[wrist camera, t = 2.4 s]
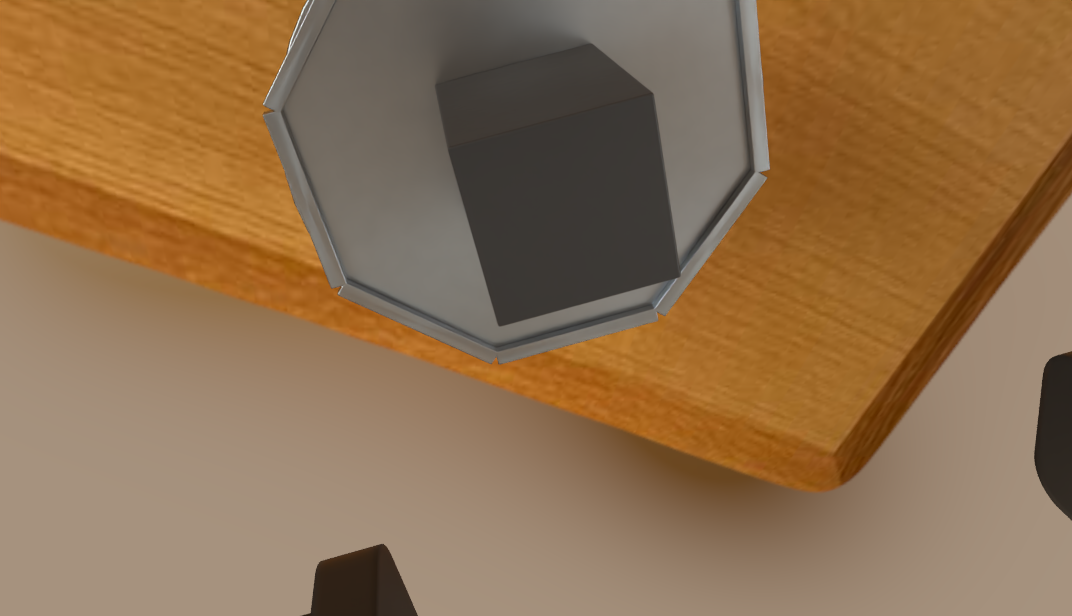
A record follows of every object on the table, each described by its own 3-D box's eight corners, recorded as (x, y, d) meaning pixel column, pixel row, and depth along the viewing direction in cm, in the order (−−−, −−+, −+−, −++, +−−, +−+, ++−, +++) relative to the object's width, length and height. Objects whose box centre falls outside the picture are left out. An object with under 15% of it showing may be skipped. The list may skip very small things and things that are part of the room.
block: (476, 231, 24) (498, 327, 19) (434, 84, 22) (447, 147, 17) (619, 192, 24) (681, 278, 19) (592, 42, 22) (654, 92, 17)
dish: (377, 265, 36) (372, 404, 26) (254, -78, 29) (187, -57, 19) (681, 182, 36) (784, 290, 27) (631, -174, 29) (746, -201, 20)
